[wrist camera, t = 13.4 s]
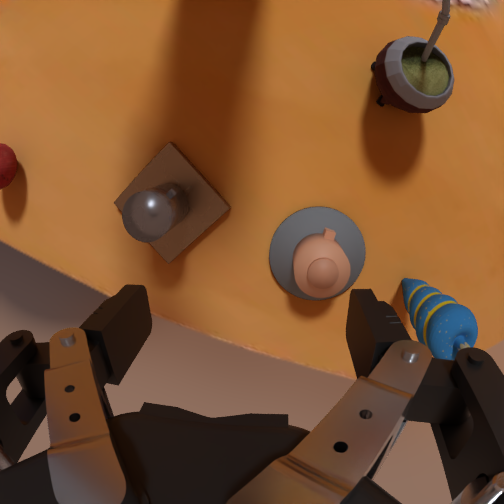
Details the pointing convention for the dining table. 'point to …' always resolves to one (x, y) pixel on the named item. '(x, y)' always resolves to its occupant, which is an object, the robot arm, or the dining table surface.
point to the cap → (320, 265)
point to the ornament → (438, 319)
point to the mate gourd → (415, 71)
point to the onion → (7, 165)
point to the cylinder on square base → (170, 203)
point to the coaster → (313, 223)
